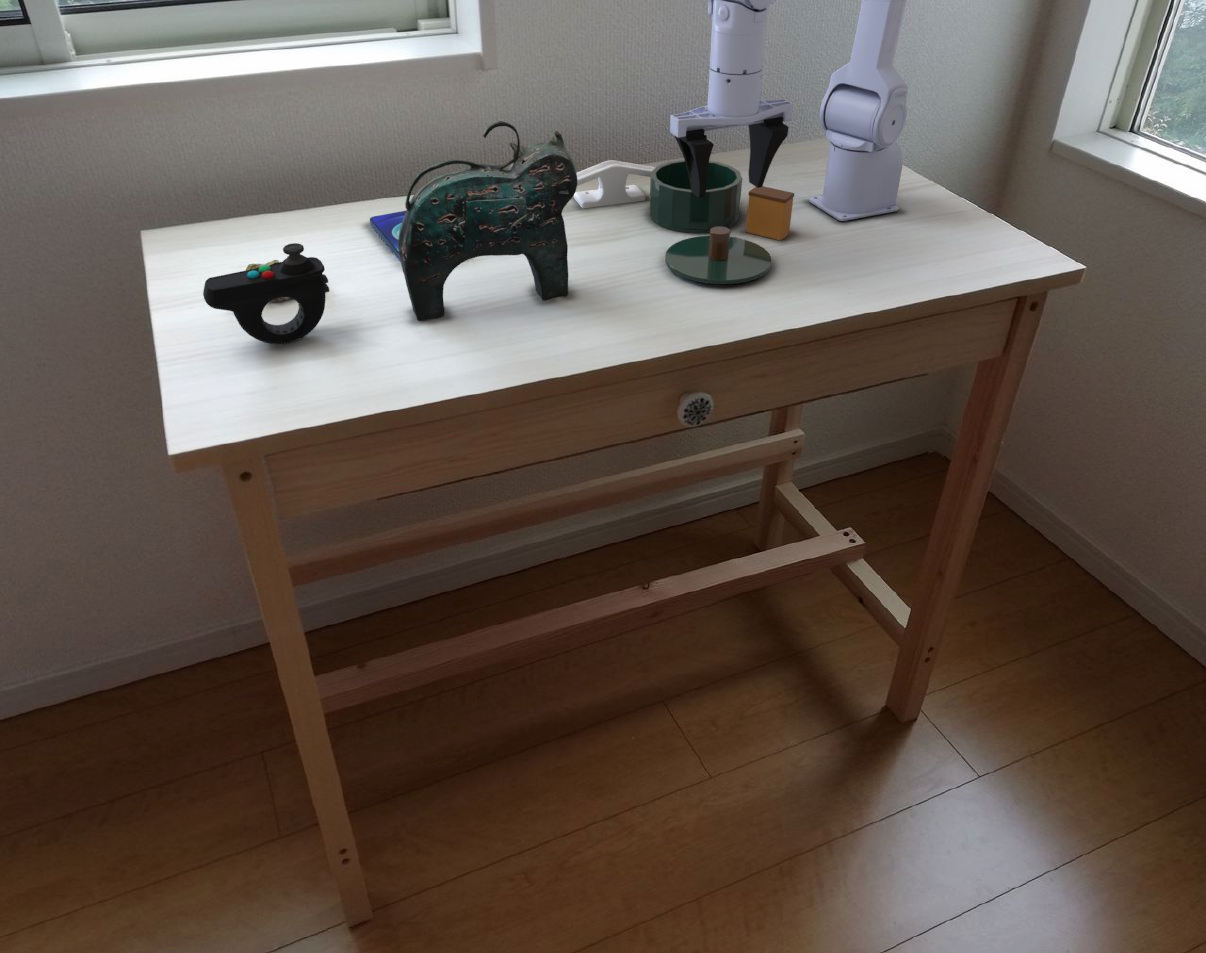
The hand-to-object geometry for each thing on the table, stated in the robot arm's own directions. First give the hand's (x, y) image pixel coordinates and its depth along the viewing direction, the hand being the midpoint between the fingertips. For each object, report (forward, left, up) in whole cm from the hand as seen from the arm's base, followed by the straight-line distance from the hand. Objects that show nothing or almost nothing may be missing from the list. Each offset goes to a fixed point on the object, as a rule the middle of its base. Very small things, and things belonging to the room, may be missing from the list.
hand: (727, 189), depth 116 cm
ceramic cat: (+29, -1, -9) cm, 30 cm away
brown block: (-10, -6, -9) cm, 15 cm away
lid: (+1, 0, -9) cm, 9 cm away
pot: (-4, -15, -9) cm, 18 cm away
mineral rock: (+52, -15, -9) cm, 54 cm away
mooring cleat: (+4, -24, -9) cm, 27 cm away
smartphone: (+33, -22, -9) cm, 40 cm away
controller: (+53, -2, -9) cm, 54 cm away
